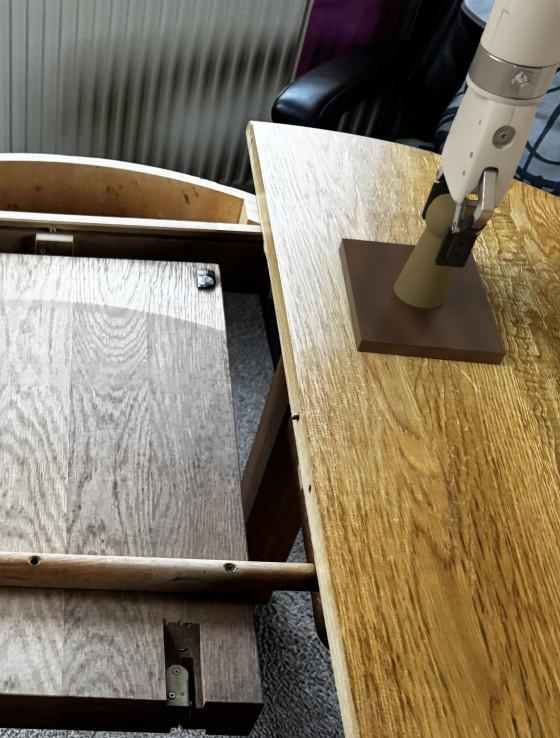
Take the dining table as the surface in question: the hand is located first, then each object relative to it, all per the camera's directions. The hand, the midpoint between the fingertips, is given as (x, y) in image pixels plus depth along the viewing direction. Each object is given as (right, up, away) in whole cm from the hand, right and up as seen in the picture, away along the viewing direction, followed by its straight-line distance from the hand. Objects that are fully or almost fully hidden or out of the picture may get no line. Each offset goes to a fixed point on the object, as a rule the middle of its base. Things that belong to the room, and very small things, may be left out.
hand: (441, 241), depth 102 cm
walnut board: (-1, -5, +6) cm, 8 cm away
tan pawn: (-1, -4, +5) cm, 7 cm away
